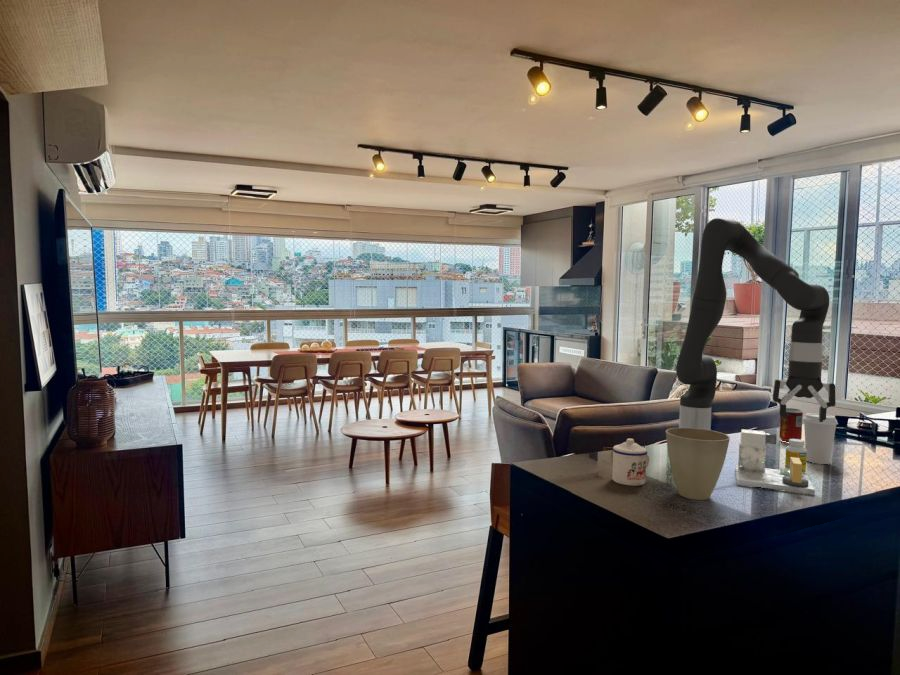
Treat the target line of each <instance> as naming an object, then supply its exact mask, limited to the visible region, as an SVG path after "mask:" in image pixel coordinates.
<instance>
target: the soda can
mask: <svg viewBox="0 0 900 675" xmlns="http://www.w3.org/2000/svg"><path fill="white" fill-rule="evenodd" d="M803 414H804V413H803V411H802V410H801V409H798V408H794V407H793V408H792V407H791V408H790V407H786V419H783V418H782V416H780V415H779V419H780V422H779V434H778V435H779V438H780V441H781V440H782V441H786V442H789V439H799V440H802V434H803V417H804V416H803ZM782 441H781V442H782Z"/></svg>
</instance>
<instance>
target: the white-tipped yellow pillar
mask: <svg viewBox="0 0 900 675" xmlns="http://www.w3.org/2000/svg"><path fill="white" fill-rule="evenodd" d="M782 482H783V483H786V484H789V485H793V486H808V480H806V479H804V478H802V463H801V461H800V459H799V458H793V457H790V475H789V476H784V477H782Z"/></svg>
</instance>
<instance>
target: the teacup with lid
mask: <svg viewBox="0 0 900 675" xmlns="http://www.w3.org/2000/svg"><path fill="white" fill-rule="evenodd" d="M612 452H613V455H612V481H614V482H615V483H616V484H620V485H624V486H631V487H634V486H636V487H637V486H643V485H644V484H645V483H646V479H647V478H646V477H647V476H646V475H647V474H646V473H647V468H648V466H649V465H650V464H649V463H650V457H649V455H648V449H647V448H645V447H644V446H641V445H640V444H638V443H636V442H635V440H634V438H627V439H626V441H624V442H622V443H620V444H615V445H614V446H613V447H612Z"/></svg>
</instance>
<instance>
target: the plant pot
mask: <svg viewBox="0 0 900 675" xmlns="http://www.w3.org/2000/svg"><path fill="white" fill-rule="evenodd" d="M665 437H666V438H665V439H666V448H667V452H668V453H667V454H668V459H669V464H670V465H669V466H670V469H671V473H672V477H673V481H674V484H675V487H676V490H677V493H678V494H679V496H681V497H683V498H685V499H689V500H695V501H705V500H708V499H710V498H711V496H712V494H713V493H714V490H715V488H716V485H717V483H718V480H719V478H720V476H721V472H722V470H723V467H724V463H725V461H726V456H727V452H728V448H729V444H730V439H731V438H730V436H729V435H728V434H726V433H723V432H720V431H716V430H712V429H711V430H706V429H698V428H679V427H672V428H667V429H665Z"/></svg>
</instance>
